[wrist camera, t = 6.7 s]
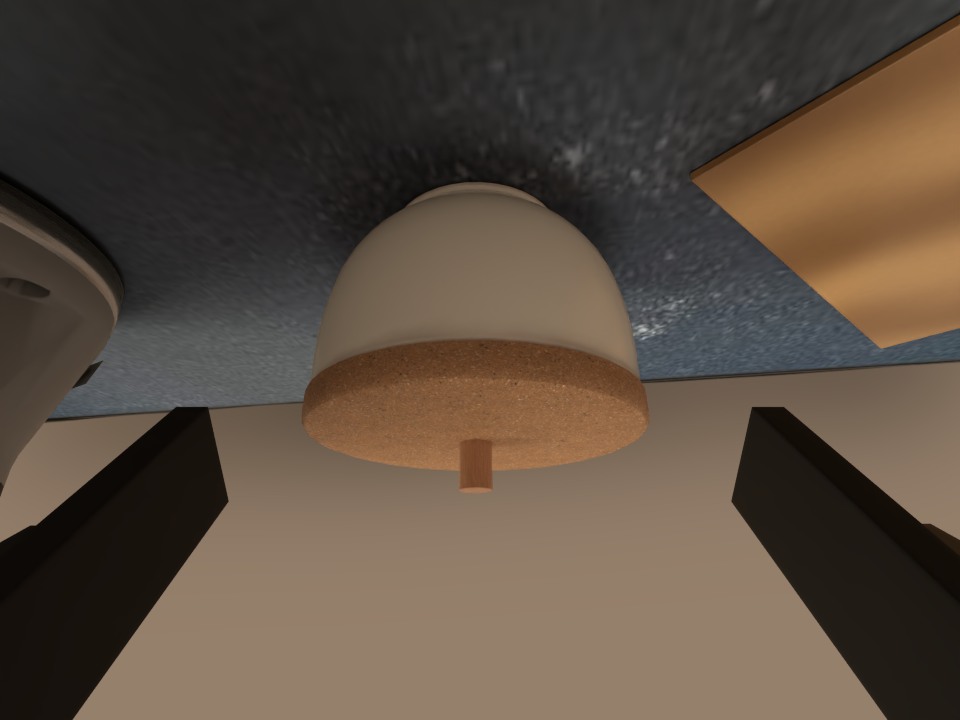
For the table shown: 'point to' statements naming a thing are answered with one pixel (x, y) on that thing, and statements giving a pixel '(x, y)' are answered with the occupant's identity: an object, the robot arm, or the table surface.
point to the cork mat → (864, 191)
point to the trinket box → (475, 342)
